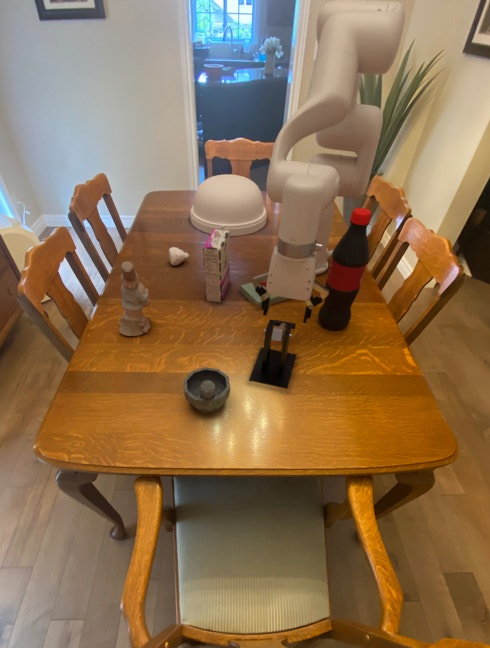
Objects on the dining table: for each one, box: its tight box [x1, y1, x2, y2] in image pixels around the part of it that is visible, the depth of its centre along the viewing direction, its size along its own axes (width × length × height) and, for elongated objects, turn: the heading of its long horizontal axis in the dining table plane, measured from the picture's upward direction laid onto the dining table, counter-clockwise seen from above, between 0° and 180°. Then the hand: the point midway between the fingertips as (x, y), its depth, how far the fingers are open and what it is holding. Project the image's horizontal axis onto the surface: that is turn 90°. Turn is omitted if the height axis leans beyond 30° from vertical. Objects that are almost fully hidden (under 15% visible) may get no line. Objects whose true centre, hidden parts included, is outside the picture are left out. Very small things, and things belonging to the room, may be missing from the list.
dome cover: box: [189, 173, 268, 237], centre depth 138 cm, size 32×30×14 cm
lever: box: [271, 319, 297, 342], centre depth 84 cm, size 13×6×2 cm, turn 164°
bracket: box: [248, 319, 298, 390], centre depth 83 cm, size 12×9×13 cm
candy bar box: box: [202, 229, 231, 304], centre depth 103 cm, size 11×5×16 cm, turn 168°
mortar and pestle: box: [183, 366, 231, 414], centre depth 75 cm, size 11×9×12 cm
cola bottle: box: [317, 207, 372, 332], centre depth 88 cm, size 8×8×30 cm
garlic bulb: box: [168, 246, 190, 267], centre depth 118 cm, size 6×6×6 cm
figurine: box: [118, 260, 152, 337], centre depth 90 cm, size 9×8×20 cm
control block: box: [239, 281, 291, 307], centre depth 107 cm, size 12×10×4 cm
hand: (285, 316), depth 87 cm, fingers open, 9 cm apart
